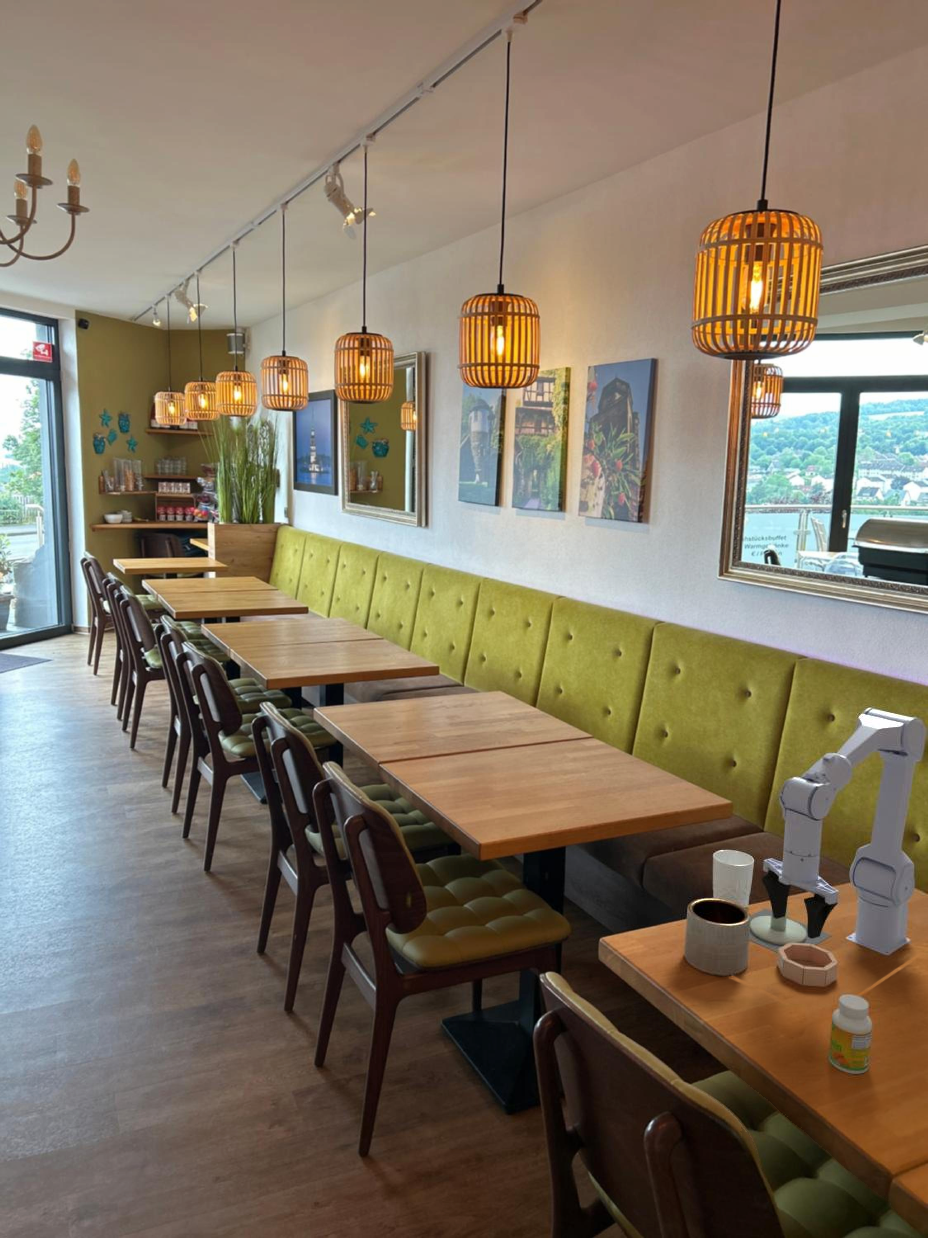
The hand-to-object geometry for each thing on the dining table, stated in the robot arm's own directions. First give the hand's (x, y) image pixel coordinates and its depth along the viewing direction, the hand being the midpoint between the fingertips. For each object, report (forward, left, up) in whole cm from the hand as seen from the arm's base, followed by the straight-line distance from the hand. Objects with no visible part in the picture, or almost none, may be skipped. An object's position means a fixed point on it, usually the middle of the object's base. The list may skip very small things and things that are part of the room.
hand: (796, 926), depth 153 cm
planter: (+5, -12, -10) cm, 16 cm away
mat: (-13, -11, -10) cm, 20 cm away
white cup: (-17, -24, -10) cm, 31 cm away
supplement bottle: (+14, +17, -10) cm, 25 cm away
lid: (-13, -11, -9) cm, 19 cm away
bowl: (-4, 0, -10) cm, 11 cm away
